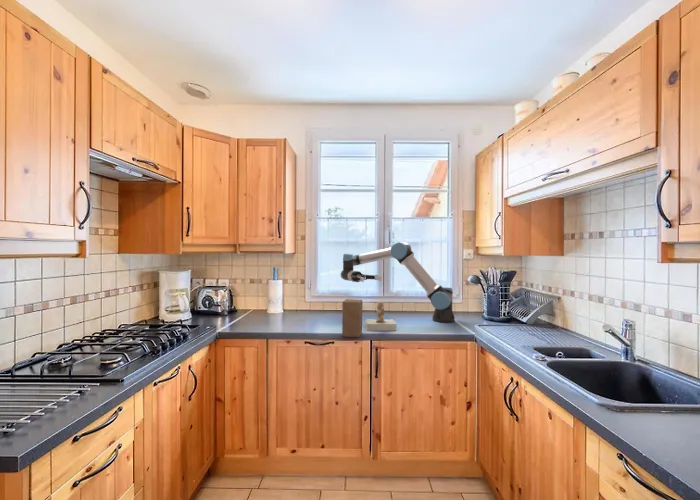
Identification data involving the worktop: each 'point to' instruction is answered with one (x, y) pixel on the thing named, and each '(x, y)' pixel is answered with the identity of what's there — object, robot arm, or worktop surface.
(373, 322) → the socket block
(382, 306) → the beech leg
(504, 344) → the worktop surface
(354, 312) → the wooden block
